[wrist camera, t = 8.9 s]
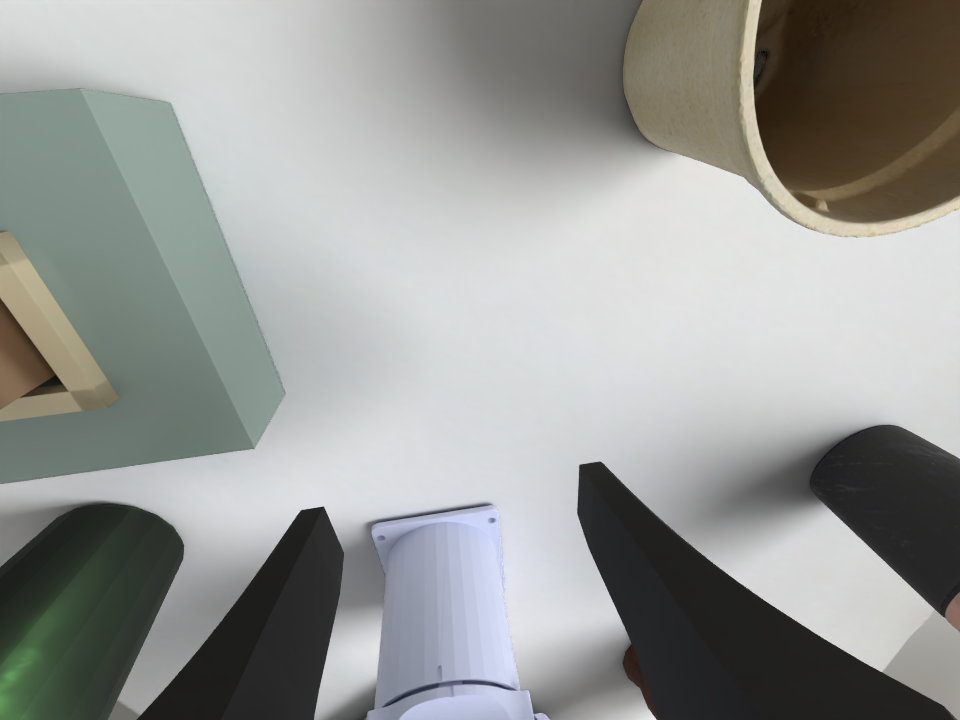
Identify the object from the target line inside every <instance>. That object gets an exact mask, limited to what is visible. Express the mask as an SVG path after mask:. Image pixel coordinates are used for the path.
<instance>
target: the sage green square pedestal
mask: <svg viewBox="0 0 960 720" xmlns="http://www.w3.org/2000/svg"><path fill="white" fill-rule="evenodd" d="M0 298H1V299H2V301H3V302H4V303H5V305H6V306H7V307H8V309H9V310H10V312H11V313H12V314H13V316H14V317H15V318H16V320H17V321H18V323H19V324H20V325H21V327H22V328H23V329H24V331H25V332H26V334H27V335H28V336H29V338H30V339H31V340H32V342H33V343H34V345H35V346H36V347H37V349H38V350H39V351H40V353H41V354H42V355H43V357H44V358H45V360H46V361H47V362H48V364H49V365H50V366H51V368H52V369H53V371H54V372H55V373H56V375H55V376H53V377H52V378H50V379H49V380H47V381H45V382H44V383H42V384H41V385H39V386H37V387H36V388H34V389H33V390H31V391H29V392H28V393H26V394H25V395H23V396H21V397H20V398H18V399H17V400H15V401H13V402H12V403H10V404H9V405H7V406H5V407H4V408H2V409H1V410H0V484H5V483H12V482H20V481H27V480H34V479H41V478H48V477H55V476H62V475H69V474H77V473H84V472H91V471H98V470H105V469H112V468H119V467H126V466H134V465H141V464H148V463H155V462H162V461H169V460H176V459H183V458H191V457H198V456H205V455H212V454H219V453H226V452H233V451H241V450H248V449H255V447H256V445H257V443H258V442H259V440H260V438H261V436H262V434H263V433H264V431H265V429H266V427H267V426H268V424H269V422H270V420H271V418H272V417H273V415H274V413H275V411H276V409H277V408H278V406H279V404H280V402H281V400H282V399H283V397H284V395H285V391H284V388H283V386H282V383H281V381H280V378H279V376H278V373H277V371H276V368H275V365H274V363H273V360H272V358H271V355H270V353H269V350H268V348H267V345H266V343H265V340H264V338H263V335H262V333H261V330H260V328H259V325H258V323H257V320H256V317H255V315H254V312H253V310H252V307H251V305H250V302H249V300H248V297H247V295H246V292H245V290H244V287H243V285H242V282H241V280H240V277H239V275H238V272H237V269H236V267H235V264H234V262H233V259H232V257H231V254H230V252H229V249H228V247H227V244H226V242H225V239H224V237H223V234H222V232H221V229H220V227H219V224H218V221H217V219H216V216H215V214H214V211H213V209H212V206H211V204H210V201H209V199H208V196H207V194H206V191H205V189H204V186H203V184H202V181H201V179H200V176H199V173H198V171H197V168H196V166H195V163H194V161H193V158H192V156H191V153H190V151H189V148H188V146H187V143H186V141H185V138H184V136H183V133H182V131H181V128H180V125H179V123H178V120H177V118H176V115H175V113H174V110H173V108H172V105H171V103H168V102H162V101H155V100H149V99H143V98H137V97H131V96H125V95H118V94H112V93H106V92H100V91H94V90H88V89H81V88H77V89H64V90H50V91H37V92H24V93H11V94H0Z"/></svg>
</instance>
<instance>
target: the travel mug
mask: <svg viewBox="0 0 960 720" xmlns="http://www.w3.org/2000/svg"><path fill="white" fill-rule="evenodd" d="M811 488H812V491H813V492H814V493H815V495H816V496H817V497H818V498H819V499H820V500H821V501H822V502H823V503H824V504H825V505H826V506H827V507H828V508H829V509H830V510H831V511H832V512H833V513H834V514H835V515H836V516H837V517H839V518H840V519H841V520H842V521H843V522H844V523H845V524H846V525H847V526H848V527H849V528H850V529H851V530H852V531H853V532H854V533H855V534H856V535H857V536H858V537H860V538H861V539H862V540H863V541H864V542H865V543H866V544H867V545H868V546H869V547H870V548H871V549H872V550H873V551H874V552H875V553H876V554H877V555H878V556H880V557H881V558H882V559H883V560H884V561H885V562H886V563H887V564H888V565H889V566H890V567H891V568H892V569H893V570H894V571H895V572H896V573H897V574H898V575H900V576H901V577H902V578H903V579H904V580H905V581H906V582H907V583H908V584H909V585H910V586H911V587H912V588H913V589H914V590H915V591H916V592H917V593H918V594H919V595H921V596H922V597H923V598H924V599H925V600H926V601H927V602H928V603H929V604H930V605H931V606H932V607H933V608H934V609H935V610H936V611H937V612H938V613H940V614H941V615H942V616H943V617H945V618H946V619H947V621H948V622H949V623H950V624H951V625H952V626H954V627H955V628H956V629H957V630H958V631H959V632H960V459H959V458H957V457H956V456H954V455H952V454H950V453H948V452H947V451H945V450H943V449H941V448H939V447H938V446H936V445H934V444H932V443H930V442H928V441H927V440H925V439H923V438H921V437H919V436H917V435H916V434H914V433H912V432H910V431H908V430H906V429H904V428H901V427H898V426H893V425H884V426H877V427H873V428H870V429H867V430H864V431H861V432H859V433H857V434H855V435H853V436H851V437H849V438H847V439H846V440H844V441H843V442H841V443H840V444H838V445H837V446H836V447H834V448H833V449H832V450H831V451H830V452H829V453H827V454H826V455H825V456H824V458H823V459H822V460H821V461H820V462H819V464H818V465H817V467H816V468H815V470H814V472H813V475H812V478H811Z"/></svg>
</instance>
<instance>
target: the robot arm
mask: <svg viewBox="0 0 960 720" xmlns="http://www.w3.org/2000/svg"><path fill="white" fill-rule="evenodd" d="M577 514H578V517H579V520H580V523H581V526H582V529H583V532H584V535H585V538H586V541H587V544H588V547H589V550H590V552H591V554H592V556H593V559H594V561H595V563H596V565H597V568H598V570H599V572H600V574H601V576H602V579H603V581H604V583H605V585H606V587H607V590H608V592H609V594H610V596H611V598H612V601H613V603H614V605H615V607H616V609H617V611H618V614H619V616H620V618H621V620H622V622H623V625H624V627H625V629H626V631H627V634H628V636H629V638H630V641H631V643H632V646H633V648H634V650H635V653H636V656H637V659H638V661H639V664H640V667H641V670H642V672H643V675H644V678H645V681H646V683H647V686H648V689H649V692H650V695H651V697H652V700H653V703H654V706H655V709H656V712H657V715H658V718H659V720H957V719H956V718H955V717H954V716H953V715H952V714H951V713H950V712H949V711H948V710H947V709H946V708H945V707H944V706H942V705H941V704H939V703H937V702H935V701H933V700H932V699H930V698H928V697H926V696H924V695H922V694H920V693H919V692H917V691H915V690H913V689H911V688H909V687H908V686H906V685H904V684H902V683H900V682H898V681H897V680H895V679H893V678H891V677H889V676H887V675H885V674H884V673H882V672H880V671H878V670H876V669H875V668H873V667H871V666H869V665H867V664H866V663H864V662H862V661H860V660H859V659H857V658H855V657H854V656H852V655H850V654H848V653H847V652H845V651H843V650H842V649H840V648H838V647H837V646H835V645H833V644H832V643H830V642H828V641H827V640H825V639H823V638H821V637H820V636H818V635H817V634H815V633H814V632H812V631H811V630H809V629H808V628H806V627H804V626H803V625H801V624H800V623H798V622H797V621H795V620H794V619H792V618H790V617H789V616H787V615H786V614H784V613H783V612H781V611H780V610H778V609H776V608H775V607H773V606H772V605H770V604H769V603H767V602H766V601H764V600H763V599H761V598H760V597H759V596H757V595H756V594H754V593H753V592H752V591H750V590H749V589H747V588H746V587H744V586H743V585H742V584H740V583H739V582H737V581H736V580H735V579H733V578H732V577H731V576H729V575H728V574H727V573H725V572H724V571H723V570H721V569H720V568H719V567H717V566H716V565H715V564H713V563H712V562H711V561H710V560H708V559H707V558H706V557H705V556H703V555H702V554H701V553H699V552H698V551H697V550H696V549H695V548H693V547H692V546H691V545H690V544H689V543H687V542H686V541H685V540H684V539H683V538H681V537H680V536H679V535H678V534H677V533H676V532H674V531H673V530H672V529H671V528H670V527H669V526H667V525H666V524H665V523H664V522H663V521H662V520H661V519H660V518H659V517H658V516H656V515H655V514H654V513H653V512H652V511H651V510H650V509H649V508H648V507H647V506H646V505H644V504H643V503H642V502H641V501H640V500H639V499H638V498H637V497H636V496H635V495H634V494H633V493H632V492H631V491H630V490H629V489H628V488H627V487H626V486H625V485H624V484H623V483H622V482H621V481H620V480H619V479H618V478H617V477H616V476H615V475H614V474H613V473H612V472H611V471H610V470H609V469H608V468H607V467H606V466H605V465H604V464H603V463H602V462H594V463H588V464H582V465H579V487H578V509H577ZM371 535H372V538H373V541H374V544H375V547H376V549H377V552H378V555H379V558H380V561H381V564H382V567H383V570H384V573H385V576H386V584H385V595H384V606H383V618H382V629H381V640H380V651H379V662H378V673H377V685H376V696H375V707H374V710H370V711H368V712H367V720H550V719H549V718H548V717H547V716H546V715H545V714H543V713H538V714H533V709H532V704H531V698H530V693H529V691H528V690H520V685H519V679H518V673H517V668H516V662H515V656H514V651H513V645H512V639H511V633H510V628H509V622H508V616H507V611H506V605H505V599H504V592H505V585H504V573H503V560H502V548H501V536H500V523H499V512H498V509H497V507H496V506H493V505H489V506H483V507H476V508H470V509H464V510H457V511H451V512H444V513H438V514H432V515H425V516H419V517H413V518H406V519H400V520H393V521H387V522H381V523H376V524H374V525H373V526H372V529H371ZM343 558H344V552H343V550H342V547H341V545H340V543H339V541H338V538H337V536H336V534H335V531H334V529H333V527H332V524H331V522H330V520H329V517H328V515H327V513H326V510H325V508H324V507H318V508H312V509H306V510H301V511H300V513H299V514H298V515H297V517H296V518H295V520H294V521H293V522H292V524H291V525H290V527H289V528H288V530H287V531H286V533H285V534H284V536H283V537H282V539H281V540H280V541H279V543H278V544H277V546H276V547H275V549H274V550H273V552H272V553H271V554H270V556H269V557H268V559H267V560H266V562H265V563H264V564H263V566H262V567H261V569H260V570H259V571H258V573H257V574H256V576H255V577H254V578H253V580H252V581H251V583H250V584H249V585H248V587H247V588H246V589H245V591H244V592H243V594H242V595H241V596H240V598H239V599H238V600H237V602H236V603H235V604H234V605H233V607H232V608H231V609H230V611H229V612H228V613H227V614H226V616H225V617H224V618H223V620H222V621H221V622H220V624H219V625H218V626H217V627H216V629H215V630H214V631H213V633H212V634H211V635H210V636H209V638H208V639H207V640H206V641H205V642H204V644H203V645H202V646H201V647H200V649H199V650H198V651H197V652H196V653H195V655H194V656H193V657H192V658H191V659H190V661H189V662H188V663H187V664H186V665H185V666H184V668H183V669H182V670H181V671H180V672H179V673H178V675H177V676H176V677H175V678H174V679H173V680H172V681H171V683H170V684H169V685H168V686H167V687H166V688H165V689H164V691H163V692H162V693H161V694H160V695H159V696H158V697H157V698H156V699H155V700H154V701H153V703H152V704H151V705H150V706H149V707H148V708H147V709H146V710H145V711H144V712H143V713H142V715H141V716H140V717H139V718H138V719H137V720H314V715H315V709H316V703H317V698H318V692H319V688H320V683H321V678H322V674H323V669H324V665H325V660H326V656H327V651H328V646H329V642H330V637H331V633H332V628H333V623H334V619H335V614H336V609H337V605H338V600H339V595H340V588H341V579H342V569H343Z"/></svg>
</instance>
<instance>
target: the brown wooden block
mask: <svg viewBox="0 0 960 720" xmlns="http://www.w3.org/2000/svg"><path fill="white" fill-rule="evenodd" d="M55 375H56V373H55V372H54V371H53V369H52V368H51V366H50V365H49V364H48V362H47V361H46V360H45V358H44V357H43V355H42V354H41V353H40V351H39V350H38V349H37V347H36V346H35V345H34V343H33V342H32V340H31V339H30V338H29V336H28V335H27V334H26V332H25V331H24V329H23V328H22V327H21V325H20V324H19V323H18V321H17V320H16V318H15V317H14V316H13V314H12V313H11V312H10V310H9V309H8V307H7V306H6V305H5V303H4V302H3V301H2V299H1V298H0V410H1V409H2V408H4V407H5V406H7V405H9V404H10V403H12V402H13V401H15V400H17V399H18V398H20V397H21V396H23V395H25V394H26V393H28V392H29V391H31V390H33V389H34V388H36V387H37V386H39V385H41V384H42V383H44V382H45V381H47V380H49V379H50V378H52V377H53V376H55Z"/></svg>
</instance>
